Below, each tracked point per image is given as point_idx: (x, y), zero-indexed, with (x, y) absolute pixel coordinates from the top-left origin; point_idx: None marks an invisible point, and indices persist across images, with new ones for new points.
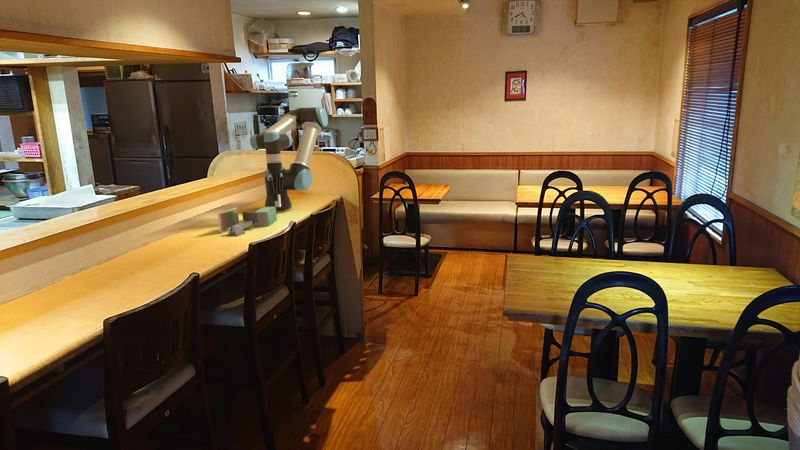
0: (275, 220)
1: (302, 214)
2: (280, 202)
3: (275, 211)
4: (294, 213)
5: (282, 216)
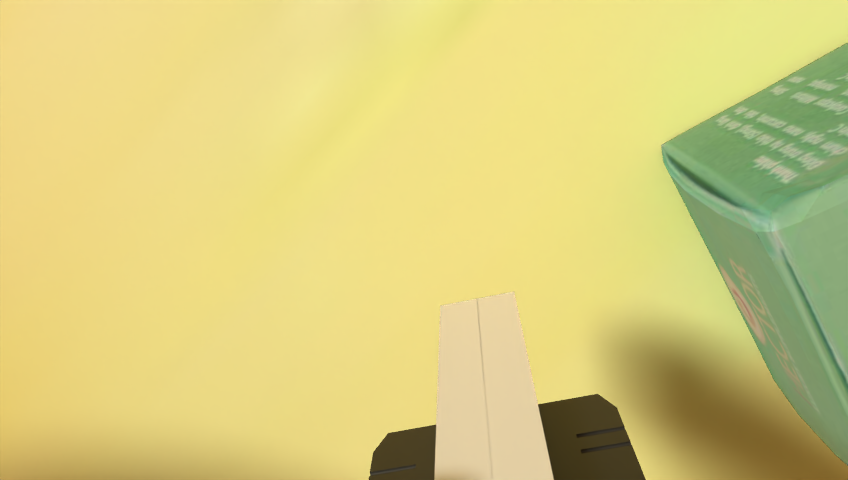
0: (754, 95)
1: (67, 13)
2: (460, 349)
3: (775, 155)
4: (104, 240)
5: (395, 269)
